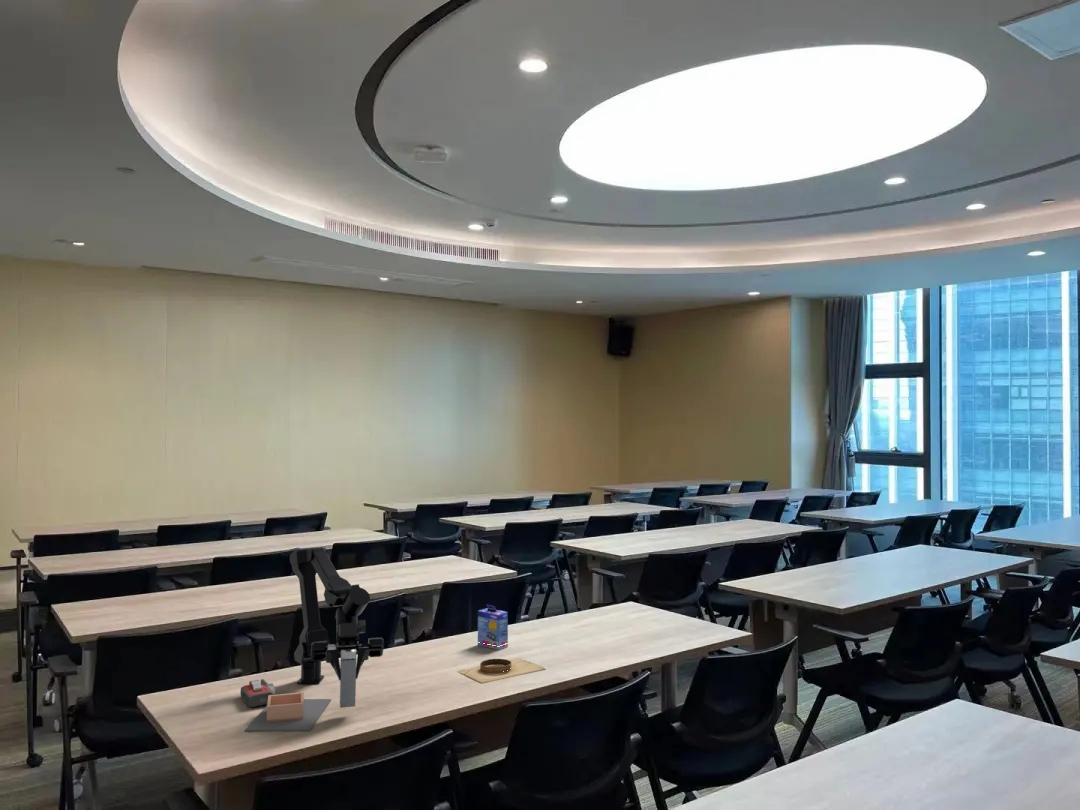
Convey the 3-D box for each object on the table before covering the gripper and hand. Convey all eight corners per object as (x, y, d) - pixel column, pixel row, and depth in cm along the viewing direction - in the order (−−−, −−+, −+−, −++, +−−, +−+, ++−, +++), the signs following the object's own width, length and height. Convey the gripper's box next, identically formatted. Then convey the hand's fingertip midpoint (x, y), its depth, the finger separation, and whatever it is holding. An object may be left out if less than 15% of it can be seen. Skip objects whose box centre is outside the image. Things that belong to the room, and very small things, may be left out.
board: (480, 686, 228) (480, 675, 229) (453, 673, 240) (453, 663, 241) (546, 671, 244) (546, 661, 244) (518, 660, 256) (518, 650, 256)
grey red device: (283, 702, 210) (266, 684, 227) (283, 685, 210) (265, 669, 227) (249, 709, 205) (234, 690, 222) (249, 692, 205) (234, 674, 222)
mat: (272, 700, 213) (272, 699, 213) (331, 700, 213) (331, 699, 214) (244, 731, 191) (244, 729, 191) (310, 731, 192) (310, 729, 192)
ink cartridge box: (476, 645, 270) (477, 603, 271) (486, 642, 275) (487, 601, 276) (498, 650, 265) (498, 607, 265) (508, 646, 269) (508, 604, 270)
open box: (268, 710, 204) (268, 695, 204) (303, 707, 207) (303, 692, 207) (266, 722, 196) (266, 706, 196) (303, 719, 198) (303, 703, 198)
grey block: (339, 703, 203) (340, 648, 203) (354, 701, 204) (355, 647, 204) (340, 707, 200) (341, 651, 200) (355, 706, 201) (356, 650, 201)
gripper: (312, 611, 204) (311, 666, 193) (384, 607, 209) (387, 660, 198) (311, 633, 211) (310, 687, 200) (380, 629, 216) (383, 681, 205)
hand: (348, 678), depth 201 cm, fingers closed on grey block, 4 cm apart
